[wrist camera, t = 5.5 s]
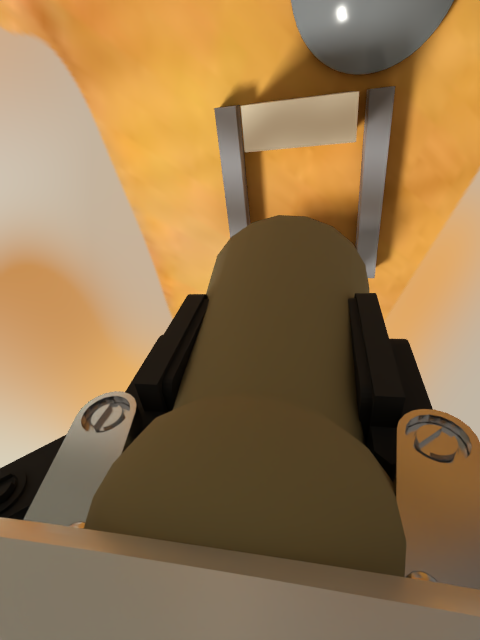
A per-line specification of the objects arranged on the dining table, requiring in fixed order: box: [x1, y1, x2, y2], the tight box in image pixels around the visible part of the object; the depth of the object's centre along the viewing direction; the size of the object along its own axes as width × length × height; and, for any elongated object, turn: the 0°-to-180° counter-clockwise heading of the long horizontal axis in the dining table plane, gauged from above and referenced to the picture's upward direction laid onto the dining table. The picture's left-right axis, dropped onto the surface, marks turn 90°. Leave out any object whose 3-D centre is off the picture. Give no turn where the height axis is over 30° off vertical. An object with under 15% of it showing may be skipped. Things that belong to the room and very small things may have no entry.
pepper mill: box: [84, 215, 407, 577], centre depth 9 cm, size 6×6×11 cm
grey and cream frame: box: [214, 86, 395, 278], centre depth 24 cm, size 12×11×4 cm
